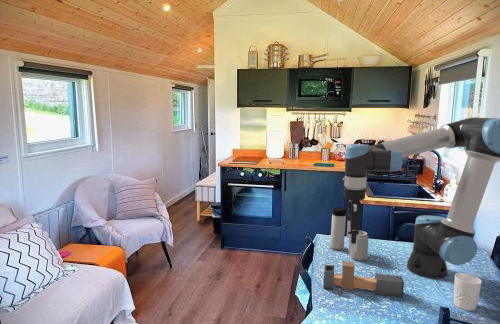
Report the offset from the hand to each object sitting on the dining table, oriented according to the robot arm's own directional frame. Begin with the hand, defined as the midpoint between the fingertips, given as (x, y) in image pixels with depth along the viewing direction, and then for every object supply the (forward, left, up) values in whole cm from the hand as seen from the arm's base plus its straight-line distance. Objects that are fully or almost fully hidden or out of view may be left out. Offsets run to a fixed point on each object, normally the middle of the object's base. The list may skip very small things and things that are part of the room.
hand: (351, 244), depth 131 cm
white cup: (-38, +3, -17) cm, 42 cm away
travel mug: (+4, -37, -17) cm, 41 cm away
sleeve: (-14, +1, -17) cm, 22 cm away
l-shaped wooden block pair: (-1, +1, -16) cm, 16 cm away
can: (-5, -28, -17) cm, 34 cm away
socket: (+7, +1, -17) cm, 18 cm away
